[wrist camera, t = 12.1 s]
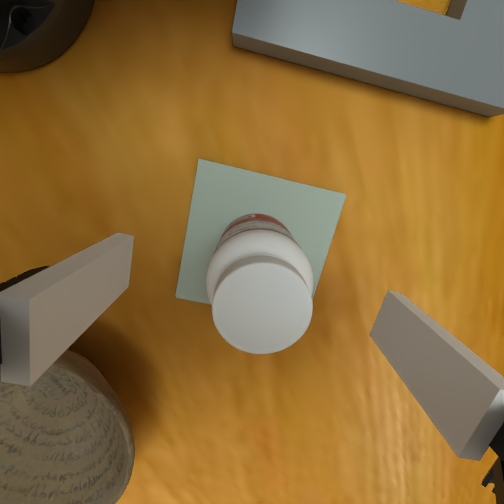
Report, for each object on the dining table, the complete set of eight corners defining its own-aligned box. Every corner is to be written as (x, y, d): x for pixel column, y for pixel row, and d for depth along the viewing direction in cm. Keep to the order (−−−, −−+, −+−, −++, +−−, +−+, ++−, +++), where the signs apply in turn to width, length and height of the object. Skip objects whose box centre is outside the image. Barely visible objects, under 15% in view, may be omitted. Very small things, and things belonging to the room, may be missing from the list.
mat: (176, 295, 25) (175, 297, 24) (199, 158, 21) (198, 158, 21) (304, 321, 26) (304, 323, 25) (344, 194, 22) (346, 194, 22)
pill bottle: (274, 292, 24) (294, 386, 14) (208, 266, 24) (175, 344, 13) (305, 228, 23) (354, 278, 12) (236, 199, 22) (224, 224, 11)
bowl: (149, 288, 24) (104, 340, 17) (171, 445, 30) (144, 540, 22) (-58, 293, 24) (-199, 348, 17) (-1, 450, 29) (-88, 547, 22)
